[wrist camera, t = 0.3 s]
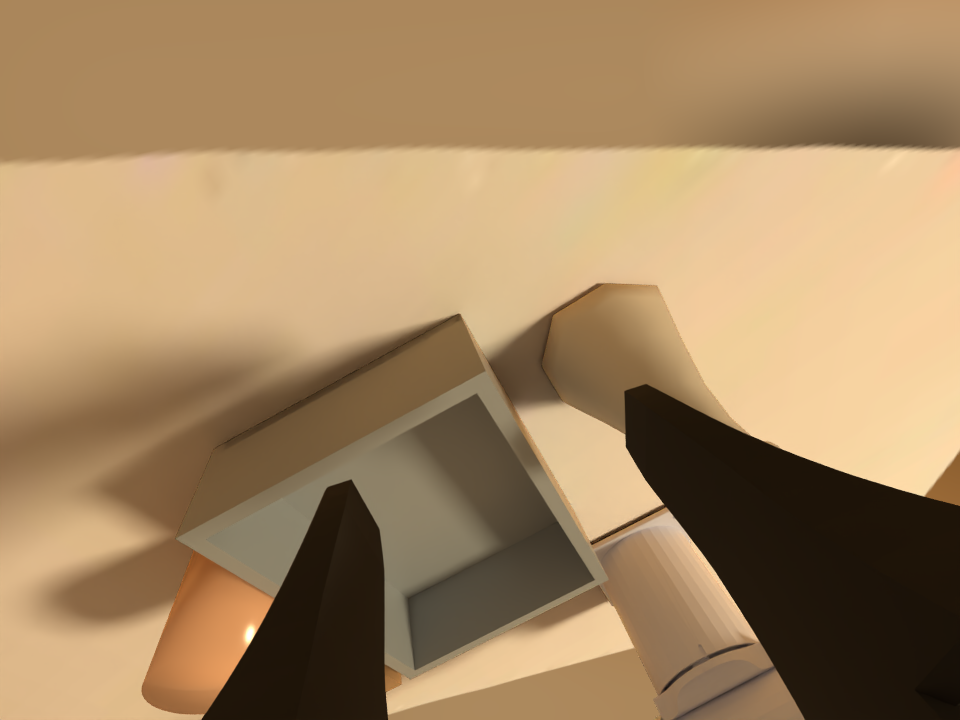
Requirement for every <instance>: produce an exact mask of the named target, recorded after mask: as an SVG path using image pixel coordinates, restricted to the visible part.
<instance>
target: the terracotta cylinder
mask: <svg viewBox="0 0 960 720" xmlns="http://www.w3.org/2000/svg"><path fill="white" fill-rule="evenodd" d="M274 599H275V598H273V597H272V596H270V595H268V594H267V593H265V592H263V591H262V590H260V589H258V588H257V587H255V586H253V585H252V584H250V583H248V582H247V581H245V580H243V579H241V578H240V577H238V576H236V575H235V574H233V573H231V572H230V571H228V570H226V569H225V568H223V567H221V566H220V565H218V564H216V563H215V562H213V561H211V560H210V559H208V558H206V557H205V556H203V555H201V554H200V553H198V552H196V551H195V550H194V551H193V553H192V556H191V559H190V561H189V564H188V567H187V569H186V572H185V574H184V577H183V580H182V582H181V585H180V588H179V590H178V593H177V596H176V598H175V601H174V603H173V606H172V609H171V611H170V614H169V617H168V619H167V622H166V624H165V627H164V630H163V632H162V635H161V638H160V640H159V643H158V646H157V648H156V651H155V653H154V656H153V659H152V661H151V664H150V667H149V669H148V672H147V675H146V677H145V680H144V682H143V685H142V695H143V697H144V699H145V700H146V701H147V702H148V703H149V704H151V705H152V706H154V707H156V708H159V709H161V710H164V711H168V712H173V713H179V714H206V712H207V711H208V709H209V708H210V706H211V705H212V703H213V702H214V700H215V699H216V697H217V695H218V694H219V692H220V691H221V689H222V688H223V686H224V685H225V683H226V682H227V680H228V679H229V677H230V675H231V674H232V672H233V671H234V669H235V667H236V666H237V664H238V662H239V661H240V659H241V657H242V656H243V654H244V653H245V651H246V649H247V647H248V646H249V644H250V642H251V641H252V639H253V637H254V635H255V634H256V632H257V630H258V628H259V627H260V625H261V623H262V621H263V619H264V618H265V616H266V614H267V612H268V610H269V608H270V606H271V604H272V602H273V600H274Z"/></svg>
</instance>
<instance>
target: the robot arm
mask: <svg viewBox="0 0 960 720" xmlns="http://www.w3.org/2000/svg"><path fill="white" fill-rule="evenodd" d="M624 399H625V434H626V448H627V450H628V451H629V453H630V455H631V457H632V458H633V460H634V462H635V463H636V465H637V467H638V468H639V470H640V472H641V473H642V475H643V477H644V478H645V480H646V481H647V483H648V484H649V485H650V487H651V488H652V489H653V490H654V492H655V493H656V494H657V496H658V497H659V498H660V500H661V501H662V502H663V503H664V505H665V506H666V508H664V509H662V510H660V511H658V512H656V513H654V514H652V515H650V516H648V517H646V518H644V519H642V520H640V521H638V522H637V523H635V524H633V525H631V526H629V527H627V528H625V529H623V530H621V531H619V532H617V533H615V534H613V535H611V536H609V537H607V538H605V539H603V540H601V541H599V542H597V543H595V544H593V545H592V547H593V549H594V551H595V553H596V555H597V557H598V559H599V561H600V563H601V565H602V567H603V569H604V571H605V573H606V575H607V577H608V579H609V580H608V581H606V582H604V583H602V584H600V585H599V586H600V588H601V589H602V591H603V592H604V594H605V596H606V597H607V599H608V600H609V602H610V604H611V605H612V606H614V607H615V609H616V611H617V613H618V615H619V617H620V619H621V621H622V623H623V625H624V627H625V629H626V631H627V633H628V635H629V637H630V639H631V641H632V643H633V645H634V647H635V649H636V652H637V653H638V656H639V658H640V660H641V661H642V664H643V666H644V667H645V670H646V672H647V674H648V676H649V678H650V680H651V682H652V684H653V686H654V688H655V690H656V692H657V694H658V696H657V697H656V698H654V702H655V704H656V707H657V709H658V711H659V713H660V715H659V716H657V717H656V718H655V719H654V720H960V506H958V505H954V504H950V503H946V502H942V501H938V500H934V499H930V498H927V497H923V496H920V495H916V494H913V493H909V492H905V491H902V490H898V489H895V488H892V487H889V486H885V485H882V484H879V483H876V482H872V481H869V480H866V479H863V478H859V477H856V476H853V475H850V474H847V473H844V472H841V471H838V470H835V469H833V468H830V467H827V466H824V465H822V464H819V463H816V462H814V461H811V460H808V459H805V458H803V457H800V456H797V455H795V454H792V453H790V452H787V451H785V450H782V449H780V448H778V447H775V446H773V445H771V444H768V443H766V442H764V441H761V440H759V439H757V438H754V437H752V436H750V435H748V434H745V433H743V432H741V431H739V430H737V429H735V428H733V427H730V426H728V425H726V424H724V423H722V422H720V421H718V420H716V419H714V418H712V417H710V416H708V415H706V414H704V413H702V412H700V411H698V410H696V409H694V408H692V407H690V406H688V405H686V404H684V403H683V402H681V401H679V400H677V399H675V398H673V397H671V396H669V395H667V394H665V393H663V392H662V391H660V390H658V389H656V388H654V387H652V386H650V385H648V384H644V385H641V386H638V387H635V388H631V389H628V390H625V391H624ZM689 537H690V538H691V539H692V541H693V542H694V543H695V545H696V546H697V547H698V548H699V550H700V551H701V552H702V554H703V555H704V556H705V558H706V559H707V561H708V562H709V563H710V565H711V566H712V567H713V569H714V570H715V572H716V573H717V575H718V576H719V578H720V580H721V581H722V583H723V584H724V586H725V587H726V589H727V590H728V592H729V594H730V595H731V597H732V598H733V600H734V601H735V603H736V604H737V606H738V608H739V609H740V611H741V612H742V614H743V616H744V617H745V618H744V617H743V616H742V614H741V613H740V612H739V610H738V609H737V607H736V606H735V605H734V603H733V602H732V601H731V599H730V598H729V596H728V595H727V594H726V592H725V591H724V590H723V588H722V587H721V586H720V584H719V583H718V581H717V580H716V579H715V577H714V576H713V575H712V573H711V572H710V571H709V569H708V568H707V566H706V565H705V564H704V562H703V561H702V560H701V558H700V557H699V556H698V554H697V553H696V551H695V550H694V549H693V547H692V545H691V542H690V538H689ZM745 619H746V620H745ZM202 720H388V714H387V703H386V691H385V571H384V560H383V551H382V543H381V536H380V529H379V527H378V525H377V524H376V522H375V520H374V518H373V516H372V515H371V513H370V511H369V509H368V508H367V506H366V504H365V502H364V500H363V499H362V497H361V495H360V493H359V492H358V490H357V488H356V486H355V485H354V483H353V481H352V479H351V480H347V481H344V482H341V483H338V484H335V485H332V486H329V487H327V488H326V490H325V492H324V494H323V496H322V499H321V501H320V503H319V505H318V508H317V510H316V512H315V515H314V517H313V519H312V522H311V524H310V526H309V528H308V531H307V533H306V535H305V537H304V539H303V542H302V544H301V546H300V548H299V550H298V552H297V554H296V556H295V559H294V561H293V563H292V565H291V567H290V569H289V571H288V573H287V575H286V577H285V579H284V581H283V583H282V585H281V587H280V589H279V591H278V593H277V595H276V597H275V599H274V600H273V602H272V604H271V606H270V608H269V610H268V612H267V614H266V616H265V618H264V619H263V621H262V623H261V625H260V627H259V628H258V630H257V632H256V634H255V635H254V637H253V639H252V641H251V642H250V644H249V646H248V647H247V649H246V651H245V653H244V654H243V656H242V657H241V659H240V661H239V662H238V664H237V666H236V667H235V669H234V671H233V672H232V674H231V675H230V677H229V679H228V680H227V682H226V683H225V685H224V686H223V688H222V689H221V691H220V692H219V694H218V695H217V697H216V699H215V700H214V702H213V703H212V705H211V706H210V708H209V709H208V711H207V712H206V714H205V715H204V717H203V718H202Z"/></svg>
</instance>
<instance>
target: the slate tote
mask: <svg viewBox="0 0 960 720" xmlns="http://www.w3.org/2000/svg"><path fill="white" fill-rule="evenodd" d="M351 479H352V481H353V483H354V485H355V486H356V488H357V490H358V492H359V493H360V495H361V497H362V499H363V500H364V502H365V504H366V506H367V508H368V509H369V511H370V513H371V515H372V516H373V518H374V520H375V522H376V524H377V525H378V527H379V529H380V536H381V543H382V551H383V560H384V571H385V664H386V665H387V666H389V667H391V668H392V669H394V670H396V671H397V672H399V673H401V674H402V675H404V676H406V677H407V678H409V679H412V678H414V677H416V676H418V675H420V674H422V673H424V672H426V671H428V670H430V669H432V668H434V667H436V666H438V665H440V664H442V663H444V662H446V661H448V660H450V659H452V658H454V657H456V656H458V655H460V654H462V653H464V652H466V651H468V650H470V649H472V648H474V647H476V646H478V645H480V644H482V643H484V642H486V641H488V640H490V639H492V638H494V637H496V636H498V635H500V634H502V633H504V632H506V631H508V630H510V629H512V628H514V627H516V626H518V625H520V624H522V623H524V622H526V621H528V620H530V619H532V618H534V617H536V616H538V615H540V614H542V613H544V612H546V611H548V610H550V609H552V608H554V607H556V606H558V605H560V604H562V603H564V602H566V601H568V600H570V599H572V598H574V597H576V596H578V595H580V594H582V593H584V592H586V591H588V590H590V589H592V588H594V587H596V586H598V585H600V584H602V583H604V582H606V581H608V580H609V579H608V577H607V575H606V573H605V571H604V569H603V567H602V565H601V563H600V561H599V559H598V557H597V555H596V553H595V551H594V549H593V547H592V545H591V543H590V542H589V540H588V538H587V536H586V534H585V532H584V530H583V528H582V526H581V524H580V522H579V520H578V518H577V516H576V514H575V512H574V510H573V509H572V507H571V505H570V503H569V502H568V500H567V498H566V496H565V495H564V493H563V491H562V489H561V488H560V486H559V484H558V483H557V481H556V479H555V477H554V476H553V474H552V472H551V470H550V469H549V467H548V465H547V463H546V462H545V460H544V458H543V456H542V455H541V453H540V451H539V450H538V448H537V446H536V444H535V443H534V441H533V439H532V437H531V436H530V434H529V432H528V430H527V429H526V427H525V425H524V424H523V422H522V420H521V418H520V417H519V415H518V413H517V411H516V410H515V408H514V406H513V404H512V403H511V401H510V399H509V398H508V396H507V394H506V392H505V391H504V389H503V387H502V385H501V384H500V382H499V380H498V378H497V377H496V375H495V373H494V372H493V370H492V368H491V366H490V365H489V363H488V361H487V359H486V358H485V356H484V354H483V352H482V351H481V349H480V347H479V346H478V344H477V342H476V340H475V339H474V337H473V335H472V333H471V332H470V330H469V328H468V326H467V325H466V323H465V321H464V319H463V318H462V316H461V314H458V315H456V316H455V317H453V318H451V319H449V320H447V321H446V322H444V323H442V324H440V325H438V326H437V327H435V328H433V329H431V330H429V331H427V332H426V333H424V334H422V335H420V336H418V337H417V338H415V339H413V340H411V341H409V342H407V343H406V344H404V345H402V346H400V347H398V348H397V349H395V350H393V351H391V352H389V353H387V354H386V355H384V356H382V357H380V358H378V359H377V360H375V361H373V362H371V363H369V364H368V365H366V366H364V367H362V368H360V369H358V370H357V371H355V372H353V373H351V374H349V375H348V376H346V377H344V378H342V379H340V380H338V381H337V382H335V383H333V384H331V385H329V386H328V387H326V388H324V389H322V390H320V391H318V392H317V393H315V394H313V395H311V396H309V397H308V398H306V399H304V400H302V401H300V402H299V403H297V404H295V405H293V406H291V407H289V408H288V409H286V410H284V411H282V412H280V413H279V414H277V415H275V416H273V417H271V418H269V419H268V420H266V421H264V422H262V423H260V424H259V425H257V426H255V427H253V428H251V429H249V430H248V431H246V432H244V433H242V434H240V435H239V436H237V437H235V438H233V439H231V440H230V441H228V442H226V443H224V444H222V445H220V446H219V447H217V448H215V449H214V450H213V452H212V455H211V457H210V459H209V462H208V464H207V466H206V468H205V471H204V473H203V475H202V478H201V480H200V482H199V485H198V487H197V489H196V492H195V494H194V496H193V499H192V501H191V503H190V506H189V508H188V510H187V513H186V515H185V517H184V519H183V522H182V524H181V526H180V529H179V531H178V533H177V536H176V538H175V539H176V540H178V541H180V542H181V543H183V544H185V545H186V546H188V547H190V548H191V549H193V550H195V551H196V552H198V553H200V554H201V555H203V556H205V557H206V558H208V559H210V560H211V561H213V562H215V563H216V564H218V565H220V566H221V567H223V568H225V569H226V570H228V571H230V572H231V573H233V574H235V575H236V576H238V577H240V578H241V579H243V580H245V581H247V582H248V583H250V584H252V585H253V586H255V587H257V588H258V589H260V590H262V591H263V592H265V593H267V594H268V595H270V596H272V597H273V598H275V597H276V595H277V593H278V591H279V589H280V587H281V585H282V583H283V581H284V579H285V577H286V575H287V573H288V571H289V569H290V567H291V565H292V563H293V561H294V559H295V556H296V554H297V552H298V550H299V548H300V546H301V544H302V542H303V539H304V537H305V535H306V533H307V531H308V528H309V526H310V524H311V522H312V519H313V517H314V515H315V512H316V510H317V508H318V505H319V503H320V501H321V499H322V496H323V494H324V492H325V490H326V488H327V487H329V486H332V485H335V484H338V483H341V482H344V481H347V480H351Z"/></svg>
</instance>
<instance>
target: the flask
mask: <svg viewBox="0 0 960 720" xmlns="http://www.w3.org/2000/svg"><path fill="white" fill-rule="evenodd" d="M542 368H543V369H544V371H545V373H546V374H547V376H548V378H549V379H550V381H551V383H552V384H553V386H554V388H555V389H556V391H557V393H558V395H559V396H560V398H561V400H562V401H563V402H565V403H567V404H568V405H570V406H572V407H574V408H576V409H578V410H580V411H582V412H584V413H586V414H588V415H590V416H592V417H594V418H596V419H598V420H600V421H602V422H604V423H606V424H608V425H610V426H611V427H613V428H615V429H617V430H619V431H620V432H622V433H624V434H625V399H624V391H625V390H628V389H631V388H635V387H638V386H641V385H644V384H648V385H650V386H652V387H654V388H656V389H658V390H660V391H662V392H663V393H665V394H667V395H669V396H671V397H673V398H675V399H677V400H679V401H681V402H683V403H684V404H686V405H688V406H690V407H692V408H694V409H696V410H698V411H700V412H702V413H704V414H706V415H708V416H710V417H712V418H714V419H716V420H718V421H720V422H722V423H724V424H726V425H728V426H730V427H733V428H735V429H737V430H739V431H741V432H743V433H745V434H748V433H747V432H746V431H745V430H744V429H743V428H742V427H741V426H740V425H738V424H737V423H736V422H735V421H734V420H733V419H732V418H731V417H730V416H729V415H728V413H727V412H726V411H725V409H724V408H723V407H722V405H721V404H720V403H719V402H718V400H717V399H716V398H715V396H714V395H713V394H712V392H711V391H710V390H709V388H708V387H707V386H706V385H705V383H704V381H703V379H702V377H701V375H700V373H699V371H698V369H697V367H696V365H695V364H694V362H693V360H692V358H691V356H690V354H689V352H688V350H687V348H686V346H685V344H684V342H683V340H682V338H681V336H680V334H679V332H678V330H677V327H676V325H675V323H674V321H673V319H672V316H671V314H670V312H669V310H668V307H667V305H666V303H665V301H664V299H663V297H662V295H661V293H660V291H659V289H658V287H657V286H655V285H632V284H610V283H605V284H603V285H602V286H600V287H598V288H597V289H595V290H593V291H592V292H590V293H589V294H587V295H585V296H584V297H582V298H580V299H579V300H577V301H576V302H574V303H572V304H571V305H569V306H567V307H566V308H564V309H563V310H561V311H559V312H558V313H556V314H554V315H553V318H552V322H551V327H550V331H549V336H548V340H547V344H546V349H545V353H544V358H543V362H542ZM748 435H749V434H748ZM750 436H751V435H750ZM764 442H766V443H768V444H771V445H773V446H775V447H778V446H777V445H775V444H773V443H771V442H767V441H764ZM778 448H779V447H778ZM780 449H781V448H780Z"/></svg>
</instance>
